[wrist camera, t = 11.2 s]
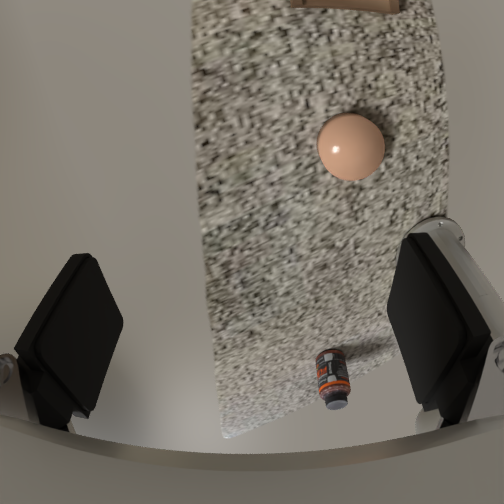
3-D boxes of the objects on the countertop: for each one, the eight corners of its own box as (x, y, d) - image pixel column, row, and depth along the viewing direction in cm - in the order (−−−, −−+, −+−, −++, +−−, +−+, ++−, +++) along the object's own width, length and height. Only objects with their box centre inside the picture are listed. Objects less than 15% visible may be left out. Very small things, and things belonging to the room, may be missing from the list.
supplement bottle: (318, 347, 59) (325, 398, 49) (347, 348, 59) (358, 397, 50) (312, 365, 62) (317, 413, 53) (339, 365, 62) (347, 411, 53)
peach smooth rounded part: (371, 176, 39) (377, 183, 37) (312, 169, 39) (315, 177, 37) (382, 118, 34) (390, 122, 32) (320, 108, 34) (324, 111, 32)
